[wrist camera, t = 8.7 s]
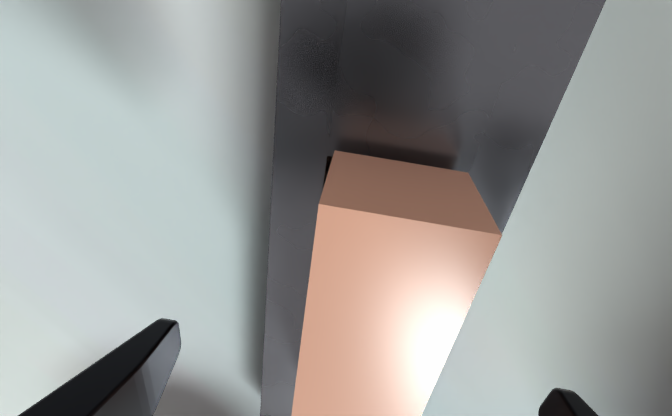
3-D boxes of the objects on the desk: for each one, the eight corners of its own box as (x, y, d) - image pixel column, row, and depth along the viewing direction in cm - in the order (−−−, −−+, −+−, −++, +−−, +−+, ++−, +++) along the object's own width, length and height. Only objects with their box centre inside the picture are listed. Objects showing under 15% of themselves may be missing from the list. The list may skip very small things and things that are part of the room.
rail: (610, -162, 7) (709, -234, 5) (387, 430, 18) (389, 487, 16) (320, -205, 7) (296, -291, 5) (271, 409, 18) (257, 463, 16)
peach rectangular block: (445, 131, 11) (501, 235, 6) (383, 337, 15) (386, 492, 10) (345, 114, 11) (318, 203, 6) (313, 325, 15) (283, 473, 10)
